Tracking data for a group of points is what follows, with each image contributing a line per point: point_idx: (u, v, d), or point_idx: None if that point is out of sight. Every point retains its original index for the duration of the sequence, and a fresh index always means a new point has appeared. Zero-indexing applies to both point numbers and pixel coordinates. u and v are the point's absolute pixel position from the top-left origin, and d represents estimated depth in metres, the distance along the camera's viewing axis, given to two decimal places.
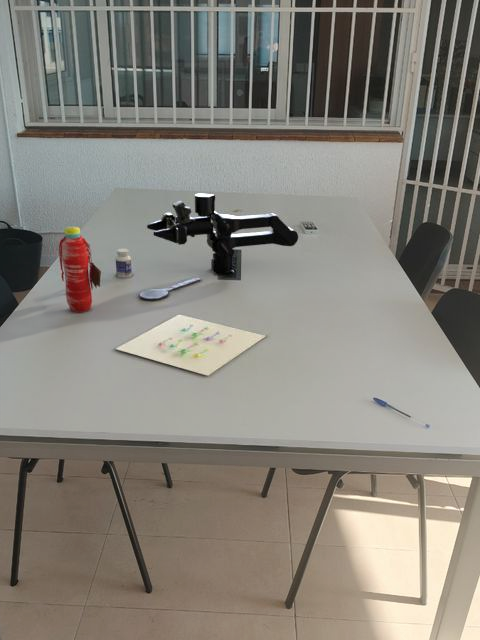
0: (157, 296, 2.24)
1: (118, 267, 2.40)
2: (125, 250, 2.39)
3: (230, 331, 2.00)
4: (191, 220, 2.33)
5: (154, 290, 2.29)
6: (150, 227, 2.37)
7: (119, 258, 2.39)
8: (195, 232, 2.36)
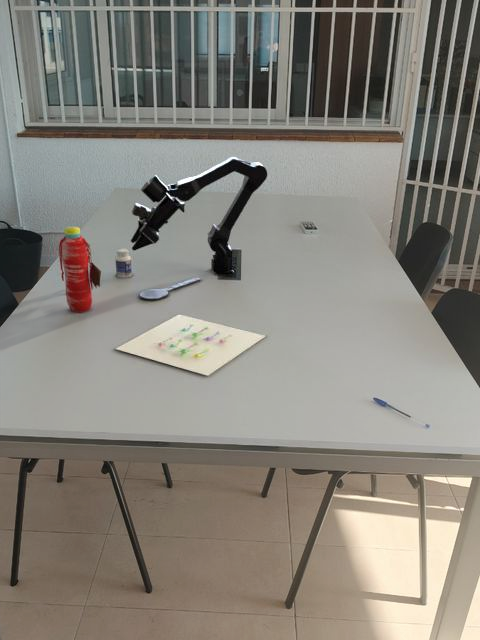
0: (157, 296, 2.24)
1: (118, 267, 2.40)
2: (125, 250, 2.39)
3: (230, 331, 2.00)
4: (153, 212, 2.32)
5: (154, 290, 2.29)
6: (134, 240, 2.43)
7: (119, 258, 2.39)
8: (165, 218, 2.34)
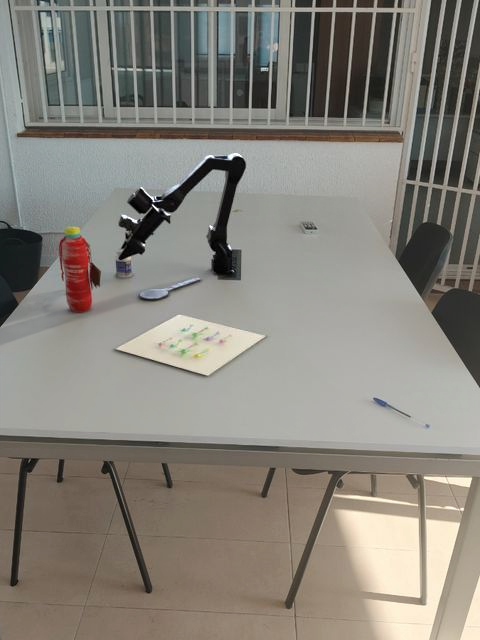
0: (157, 296, 2.24)
1: (118, 267, 2.40)
2: None
3: (230, 331, 2.00)
4: (139, 224, 2.33)
5: (154, 290, 2.29)
6: None
7: None
8: (151, 229, 2.35)
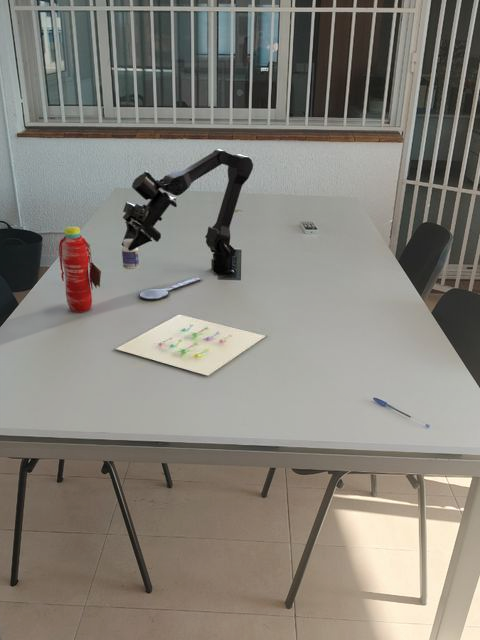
0: (157, 296, 2.24)
1: (127, 258, 2.27)
2: None
3: (230, 331, 2.00)
4: (148, 210, 2.22)
5: (154, 290, 2.29)
6: None
7: None
8: (159, 215, 2.25)
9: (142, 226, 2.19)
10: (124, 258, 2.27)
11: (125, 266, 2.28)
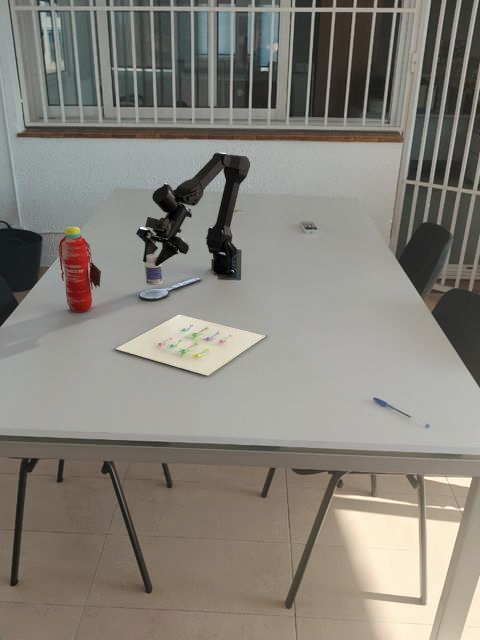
0: (157, 296, 2.24)
1: (153, 274, 2.20)
2: (155, 255, 2.20)
3: (230, 331, 2.00)
4: (171, 223, 2.18)
5: (154, 290, 2.29)
6: (146, 259, 2.22)
7: (154, 264, 2.19)
8: (179, 227, 2.21)
9: (171, 240, 2.15)
10: (149, 274, 2.20)
11: (151, 282, 2.22)
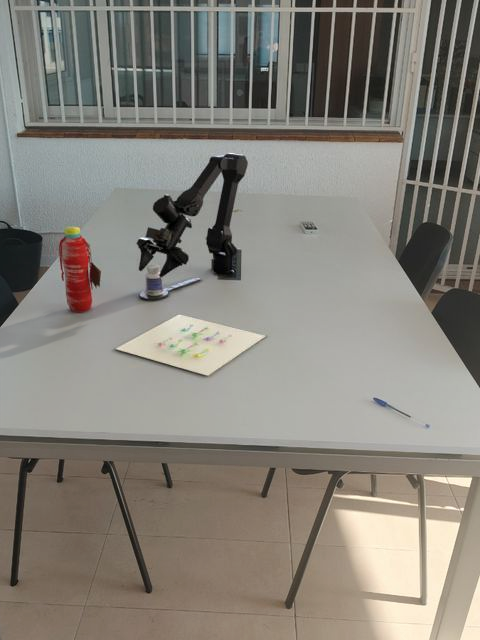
0: (157, 296, 2.24)
1: (154, 285, 2.22)
2: (156, 266, 2.22)
3: (230, 331, 2.00)
4: (171, 233, 2.19)
5: None
6: (142, 268, 2.24)
7: (154, 275, 2.21)
8: (179, 237, 2.23)
9: (171, 250, 2.16)
10: (150, 285, 2.22)
11: (151, 293, 2.23)
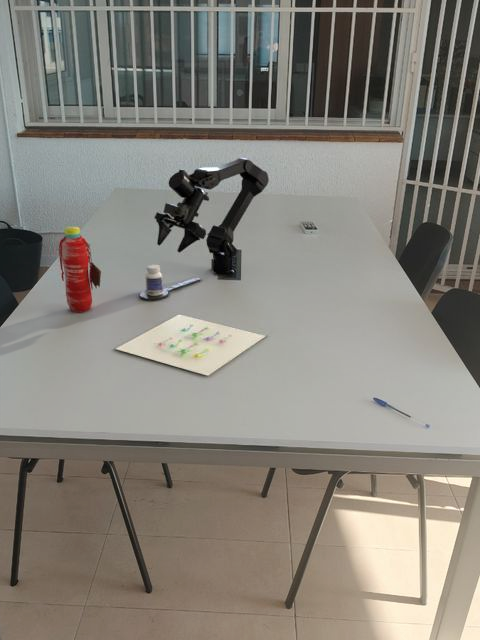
0: (157, 296, 2.24)
1: (154, 285, 2.22)
2: (156, 266, 2.22)
3: (230, 331, 2.00)
4: (188, 208, 2.23)
5: None
6: (160, 242, 2.29)
7: (154, 275, 2.21)
8: None
9: (189, 225, 2.20)
10: (150, 285, 2.22)
11: (151, 293, 2.23)
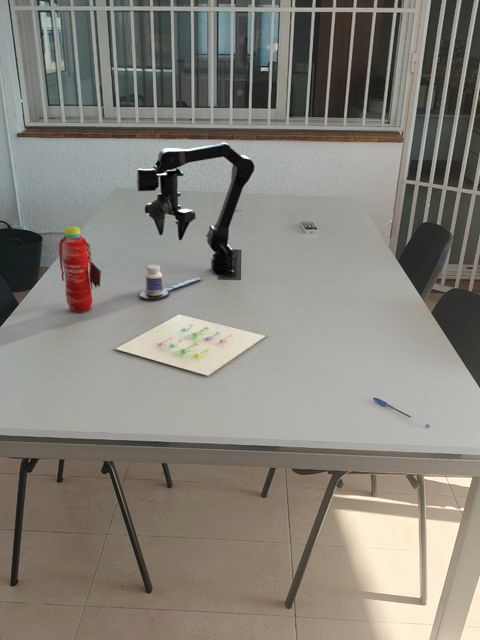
0: (157, 296, 2.24)
1: (154, 285, 2.22)
2: (156, 266, 2.22)
3: (230, 331, 2.00)
4: (168, 198, 2.28)
5: None
6: (161, 231, 2.40)
7: (154, 275, 2.21)
8: (177, 192, 2.30)
9: (177, 218, 2.29)
10: (150, 285, 2.22)
11: (151, 293, 2.23)
